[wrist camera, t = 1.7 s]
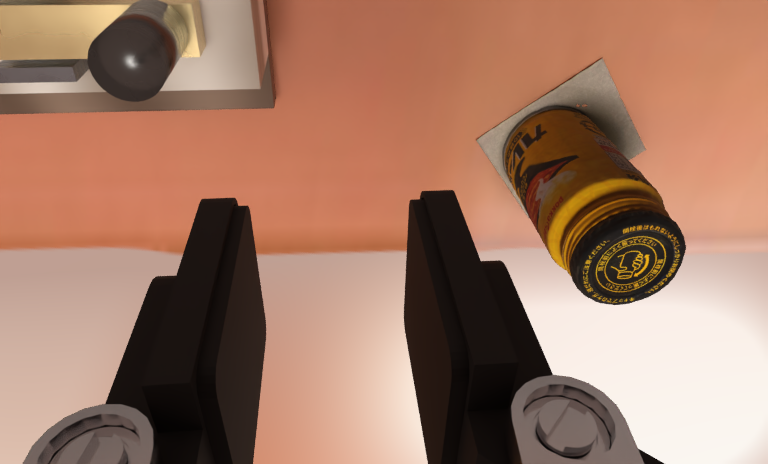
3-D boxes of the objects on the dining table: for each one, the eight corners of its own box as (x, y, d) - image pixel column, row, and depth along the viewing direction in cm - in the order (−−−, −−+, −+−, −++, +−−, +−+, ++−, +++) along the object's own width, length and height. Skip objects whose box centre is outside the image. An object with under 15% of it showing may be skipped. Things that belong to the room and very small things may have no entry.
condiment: (475, 138, 35) (536, 257, 25) (601, 57, 33) (721, 152, 23) (527, 215, 39) (597, 345, 29) (643, 147, 36) (762, 262, 27)
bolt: (197, -11, 22) (166, 28, 18) (206, 50, 24) (181, 100, 19) (-17, -10, 22) (-104, 31, 17) (6, 53, 23) (-69, 106, 19)
